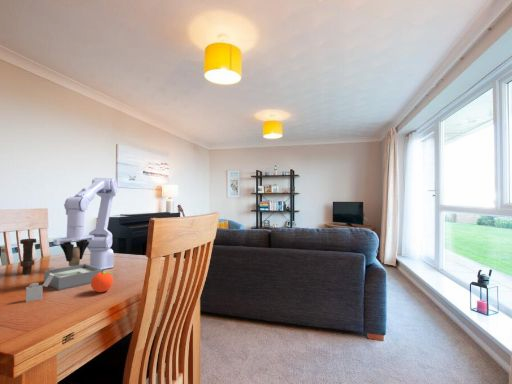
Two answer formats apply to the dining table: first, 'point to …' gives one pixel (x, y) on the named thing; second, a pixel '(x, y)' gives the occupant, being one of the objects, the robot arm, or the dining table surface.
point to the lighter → (37, 289)
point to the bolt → (27, 255)
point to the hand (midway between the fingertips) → (74, 260)
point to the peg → (75, 256)
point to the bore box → (72, 276)
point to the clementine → (102, 282)
